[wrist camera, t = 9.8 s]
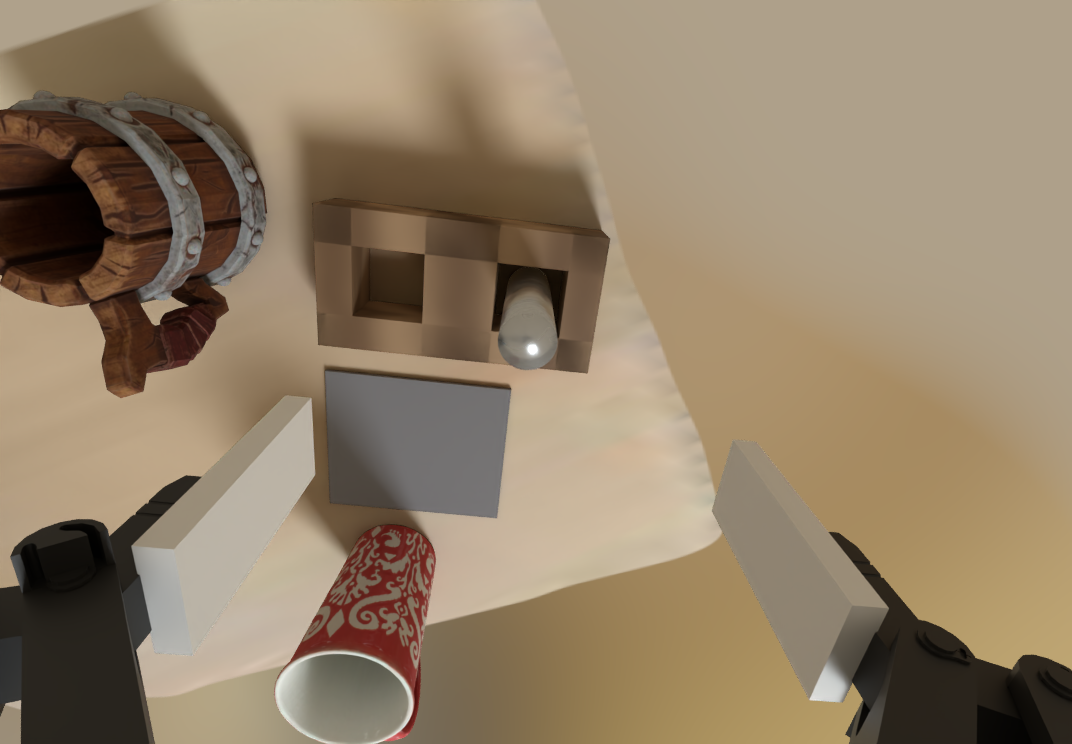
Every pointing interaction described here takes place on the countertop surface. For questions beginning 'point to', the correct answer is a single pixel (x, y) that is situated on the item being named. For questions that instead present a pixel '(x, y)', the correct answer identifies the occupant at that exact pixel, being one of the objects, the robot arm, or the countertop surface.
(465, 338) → the hole block
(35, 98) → the mug
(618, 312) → the countertop surface
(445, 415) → the mat
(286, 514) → the robot arm
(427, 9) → the countertop surface
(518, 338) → the peg
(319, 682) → the mug
